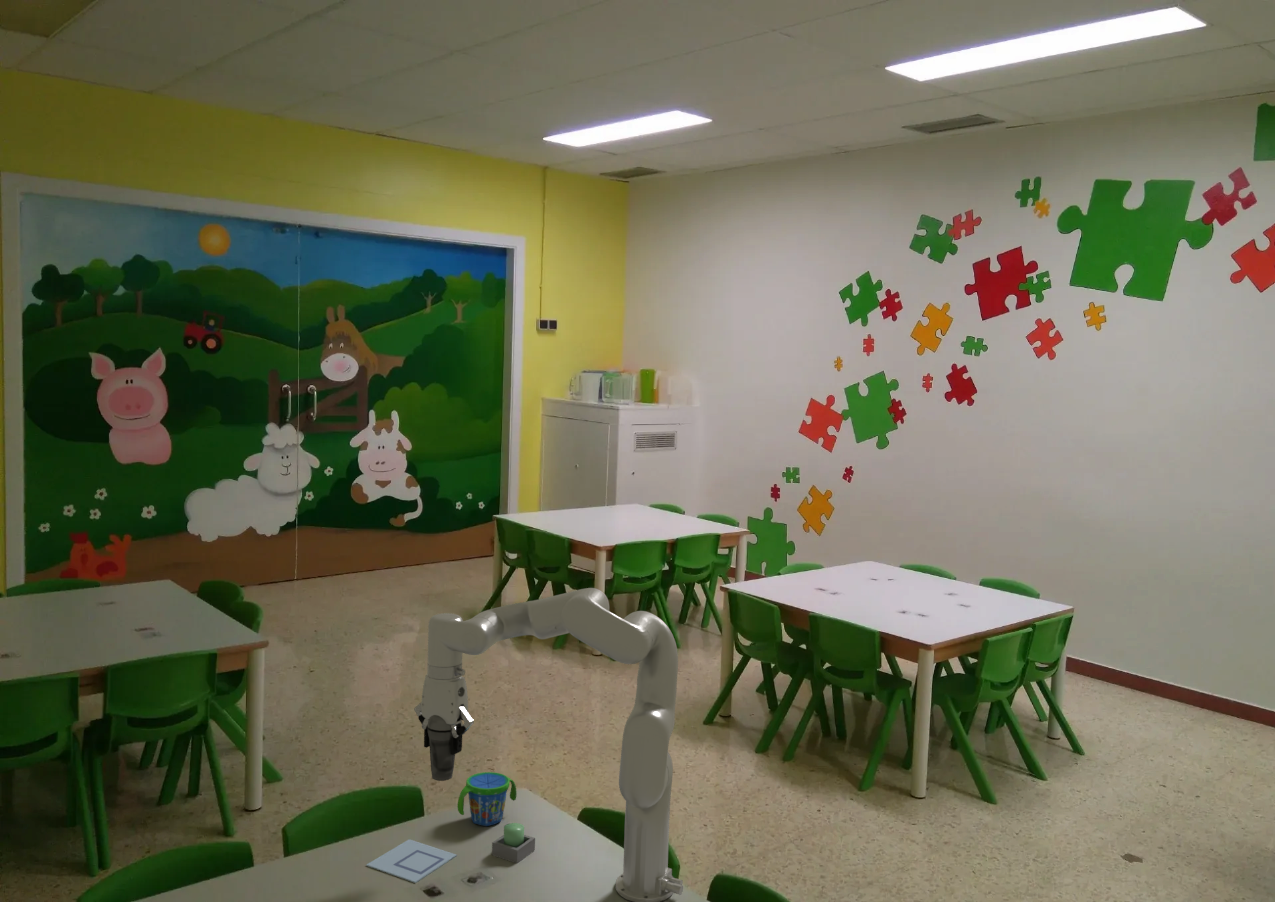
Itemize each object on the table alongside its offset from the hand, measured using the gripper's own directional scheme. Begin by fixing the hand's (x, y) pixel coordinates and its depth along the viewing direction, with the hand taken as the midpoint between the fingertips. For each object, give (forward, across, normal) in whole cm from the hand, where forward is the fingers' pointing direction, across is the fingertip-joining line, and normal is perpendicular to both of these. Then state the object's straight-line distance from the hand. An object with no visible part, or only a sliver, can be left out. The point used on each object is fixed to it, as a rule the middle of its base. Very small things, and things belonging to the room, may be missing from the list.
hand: (442, 748), depth 217 cm
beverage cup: (+7, 0, 0) cm, 7 cm away
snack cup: (+26, +4, -22) cm, 35 cm away
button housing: (+26, -11, -12) cm, 31 cm away
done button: (+24, -11, -12) cm, 29 cm away
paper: (+26, +6, +3) cm, 27 cm away
